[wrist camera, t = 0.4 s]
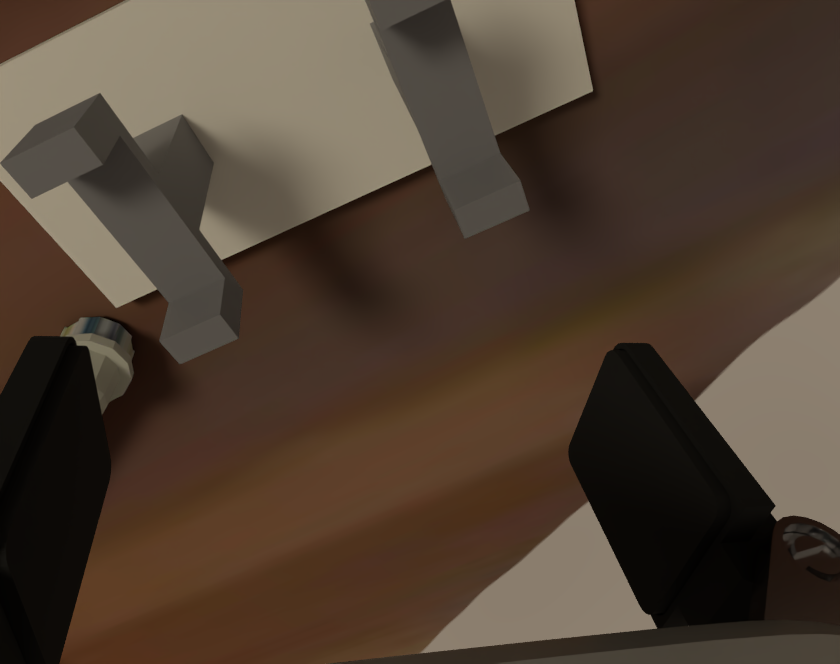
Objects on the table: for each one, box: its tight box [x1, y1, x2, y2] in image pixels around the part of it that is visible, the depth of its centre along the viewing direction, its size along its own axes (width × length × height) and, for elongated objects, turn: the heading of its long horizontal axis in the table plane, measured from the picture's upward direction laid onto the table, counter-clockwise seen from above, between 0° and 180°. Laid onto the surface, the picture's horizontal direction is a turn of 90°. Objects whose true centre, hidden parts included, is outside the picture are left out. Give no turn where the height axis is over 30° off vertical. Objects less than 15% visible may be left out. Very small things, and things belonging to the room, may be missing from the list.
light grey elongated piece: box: [61, 317, 135, 414], centre depth 45 cm, size 5×7×25 cm
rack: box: [0, 0, 593, 364], centre depth 30 cm, size 32×14×14 cm, turn 112°
